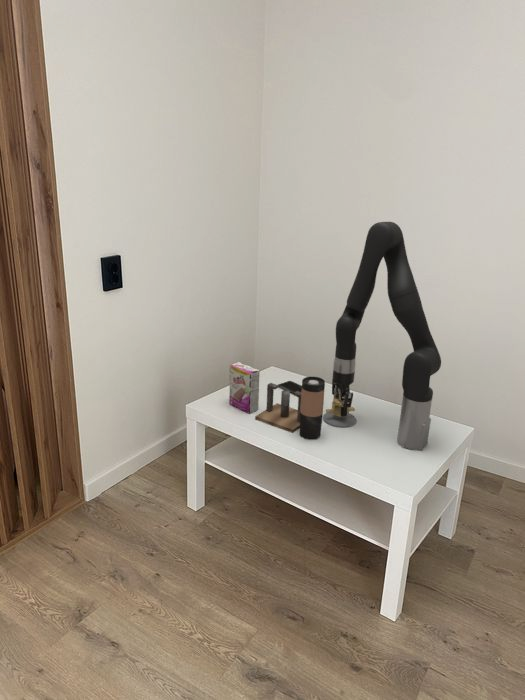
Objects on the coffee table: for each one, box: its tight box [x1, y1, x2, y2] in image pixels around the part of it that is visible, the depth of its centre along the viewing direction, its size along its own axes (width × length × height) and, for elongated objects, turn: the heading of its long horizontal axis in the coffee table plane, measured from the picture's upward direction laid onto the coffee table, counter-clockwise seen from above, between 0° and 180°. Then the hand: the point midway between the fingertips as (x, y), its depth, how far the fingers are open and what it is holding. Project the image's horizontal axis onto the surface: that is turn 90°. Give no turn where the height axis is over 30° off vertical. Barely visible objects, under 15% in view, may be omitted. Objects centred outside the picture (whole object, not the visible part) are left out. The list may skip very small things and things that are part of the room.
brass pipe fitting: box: [325, 396, 355, 417], centre depth 198 cm, size 11×6×5 cm, turn 104°
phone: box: [277, 380, 302, 396], centre depth 223 cm, size 8×1×15 cm
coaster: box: [322, 412, 357, 429], centre depth 200 cm, size 12×12×1 cm
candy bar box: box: [228, 361, 260, 415], centre depth 204 cm, size 11×5×16 cm, turn 46°
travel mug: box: [299, 376, 326, 440], centre depth 185 cm, size 8×8×20 cm
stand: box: [254, 382, 302, 433], centre depth 197 cm, size 16×14×12 cm
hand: (340, 411), depth 199 cm, fingers closed on brass pipe fitting, 5 cm apart
